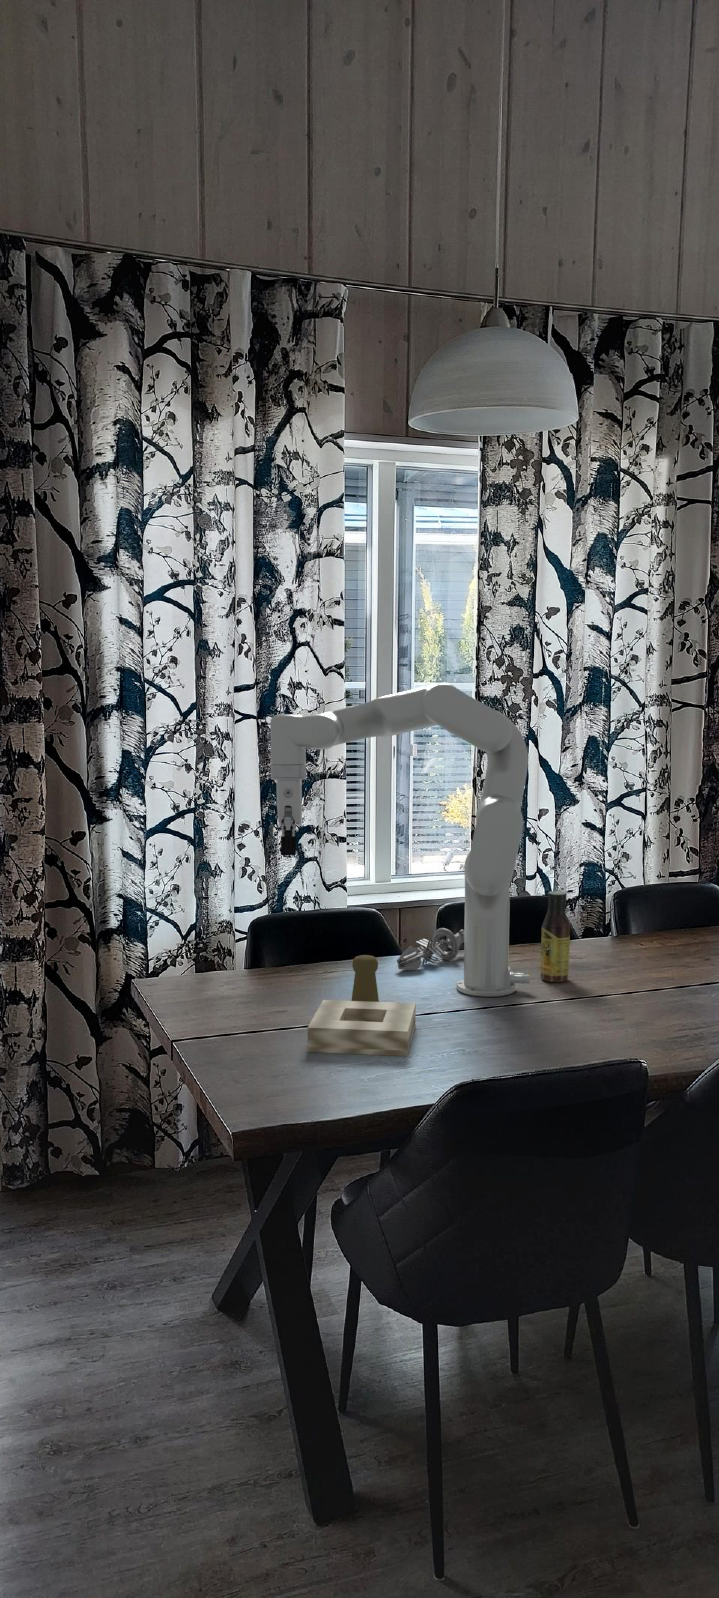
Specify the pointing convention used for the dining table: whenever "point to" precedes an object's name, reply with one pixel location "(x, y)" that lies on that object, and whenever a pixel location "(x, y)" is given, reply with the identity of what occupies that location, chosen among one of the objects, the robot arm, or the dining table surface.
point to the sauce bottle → (555, 940)
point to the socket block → (362, 1028)
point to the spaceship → (432, 949)
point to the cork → (365, 979)
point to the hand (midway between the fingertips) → (288, 851)
